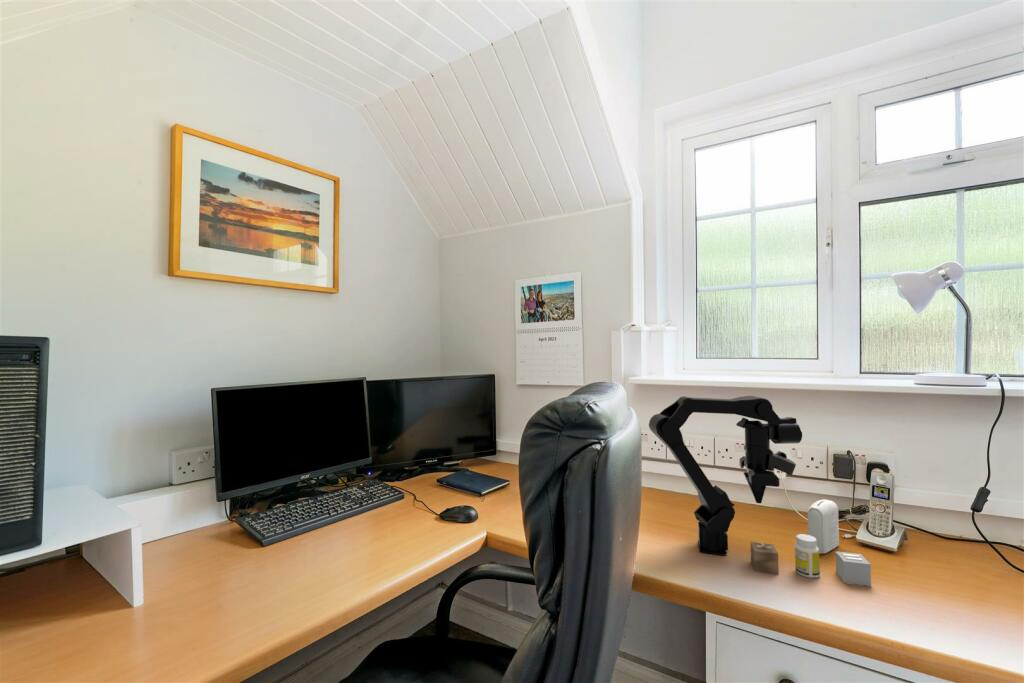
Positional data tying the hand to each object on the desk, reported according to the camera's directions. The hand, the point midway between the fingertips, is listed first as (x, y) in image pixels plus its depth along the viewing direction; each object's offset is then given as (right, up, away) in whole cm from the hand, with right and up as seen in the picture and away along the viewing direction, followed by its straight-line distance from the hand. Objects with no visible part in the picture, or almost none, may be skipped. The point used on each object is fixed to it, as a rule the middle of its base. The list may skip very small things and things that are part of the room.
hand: (758, 502), depth 118 cm
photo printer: (+17, -12, 0) cm, 21 cm away
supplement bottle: (+4, -12, -13) cm, 18 cm away
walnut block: (-4, -12, -10) cm, 16 cm away
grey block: (+13, -12, -16) cm, 24 cm away
